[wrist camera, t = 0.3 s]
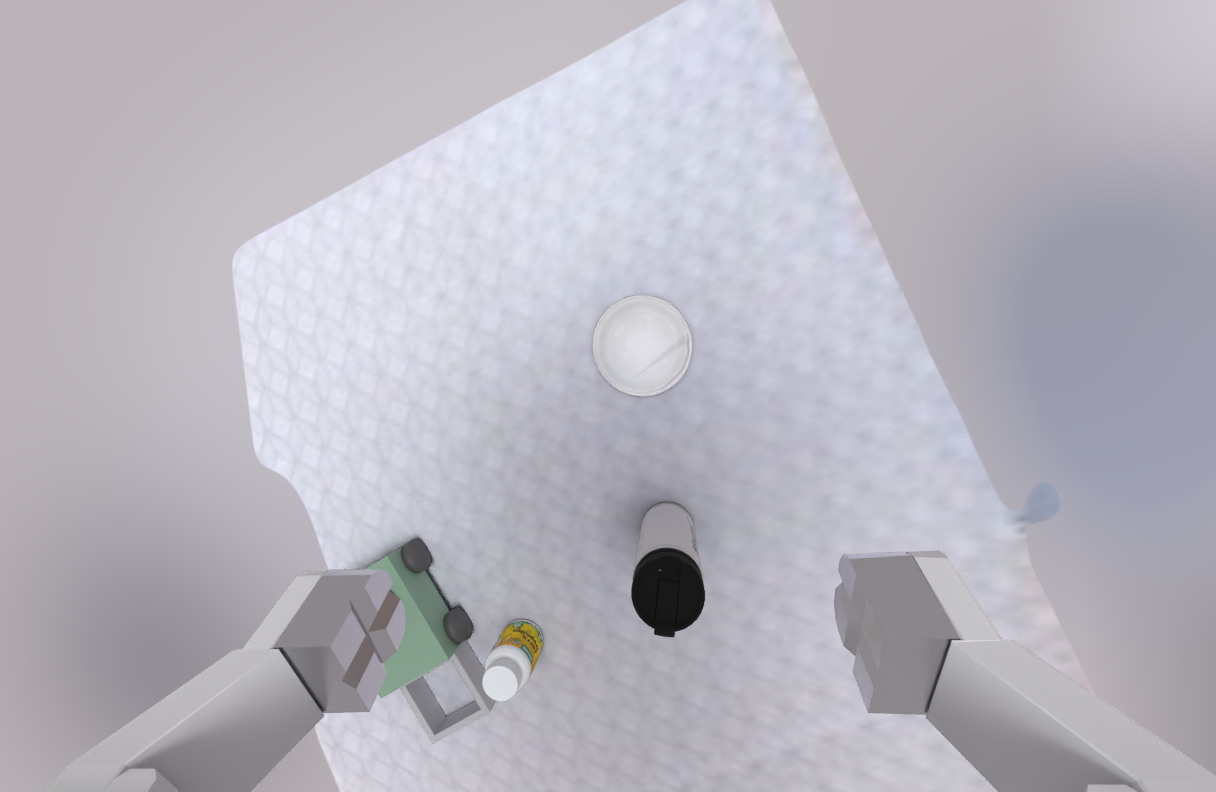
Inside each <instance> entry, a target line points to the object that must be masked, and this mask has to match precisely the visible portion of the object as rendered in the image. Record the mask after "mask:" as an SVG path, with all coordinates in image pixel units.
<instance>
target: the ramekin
mask: <svg viewBox="0 0 1216 792" xmlns="http://www.w3.org/2000/svg"><path fill="white" fill-rule="evenodd" d="M592 350H593V356H594V360H595V363H596V366H597V368H598V370H599V372H600V373H601V375H602V376H603V378H604V379H605V380H606V381H607V382H608V383H609V384H610V385H611V386H612V387H613V388H615V389H617V390H618V391H620V392H622V393H625V394H628V395H631V396H637V397H648V396H654V395H658V394H661V393H663V392H665V391H667V390H669V389H670V388H671V387H673V386H674V385H675V384H676V383H677V382H679V380H680V379H681V378H682V377H683V376H684V374H685V372H686V371H687V369H688V366H689V364H690V361H691V357H692V350H693V342H692V335H691V331H690V328H689V326H688V323H687V322H686V320H685V318H684V317H683V316H682V314H681V313H680V312H679V311H678V310H677V309H676V308H675V307H674V306H673V305H671V304H670V303H668V302H667V301H665V300H663V299H660V298H658V297H654V296H649V295H634V296H629V297H625V298H623V299H621V300H619V301H617V302H616V303H614V304H613V305H611V306H610V307H609V308H608V309H607V310H606V311H605V312H604V313H603V315H602V316H601V317H600V319H599V321H598V323H597V325H596V327H595V330H594V334H593V342H592Z"/></svg>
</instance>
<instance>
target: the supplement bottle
mask: <svg viewBox="0 0 1216 792" xmlns="http://www.w3.org/2000/svg"><path fill="white" fill-rule="evenodd" d="M542 648H543V636H542V633H541V630H540V629H539V627H538V626H537V625H536V624H534V623H533V622H531V621H529V620H515V621H512V622H511V623H509V624H508V625H507V626H506V627H505V629H504V631H503V632H502V634H501V635H500V637H499V639H498V640H497V642H496V644H495V645H494V647H493V648H492V650H491V652H490V653H489V655H488V657H487V659H486V662H485V674H484V676H483V680H482V684H483V689H484V691H485V693H486V694H487V695H488V696H489V697H490V698H492V699H493V700H496V701H507V700H509V699H511V698H512V697H513V696H514V695H515V694H516V692H517V691H518V690H519V689H521V688H522V687H524V686H525V684H526V683H527V682H528V680H529V678H530V675H531V673H532V671H533V669H534V666H535V664H536V662H537V659H538V657H539V655H540V653H541V650H542Z"/></svg>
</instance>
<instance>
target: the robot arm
mask: <svg viewBox="0 0 1216 792" xmlns="http://www.w3.org/2000/svg"><path fill="white" fill-rule="evenodd" d="M838 571H839V574H840V576H841V579H842V581H843V582H842V583H841V584H840V585H839V586H838V587H837V588H835V598H834V607H835V618H836V622H837V626H838V631H839V634H840V637H841V640H842V642H843V645H844V647H845V648H847V649H848V650H849V651H850V652H851V653H852V654H853V655H855V656H856V658H855V663H854V669H853V673H854V676H855V679H856V681H857V684H858V687H859V690H860V692H861V695H862V698H863V700H864V703H865V706H866V709H867V711H868V713H887V714H920V715H927V716H926V718H927V719H928V720H929V721H930V722H931V723H932V724H933V725H934V726H935V728H936V729H937V730H938V731H939V732H940V733H941V734H942V735H943V736H944V737H945V738H946V739H947V740H948V741H949V742H950V743H951V744H952V745H953V746H954V747H955V748H956V749H957V750H958V751H959V752H960V753H961V754H962V755H963V756H964V757H965V758H966V759H967V760H968V761H969V762H970V763H971V764H972V765H973V766H974V767H975V768H976V769H977V770H978V771H979V773H980V774H981V775H982V776H983V777H984V778H985V779H986V780H987V781H988V782H989V783H990V784H991V785H992V786H993V787H994V788H995V789H996V790H997V791H998V792H1216V776H1215V775H1214V774H1212V773H1211V772H1209V771H1207V770H1206V769H1205V768H1203V767H1202V766H1200V765H1199V764H1197V763H1196V762H1194V761H1193V760H1191V759H1190V758H1188V757H1187V756H1185V755H1184V754H1182V753H1181V752H1179V751H1178V750H1176V749H1175V748H1173V747H1172V746H1170V745H1169V744H1168V743H1166V742H1164V741H1163V740H1162V739H1160V738H1158V737H1157V736H1156V735H1154V734H1152V733H1151V732H1150V731H1148V730H1147V729H1145V728H1144V727H1142V726H1141V725H1139V724H1137V723H1136V722H1135V721H1133V720H1132V719H1130V718H1129V717H1127V716H1126V715H1124V714H1123V713H1121V712H1120V711H1118V710H1117V709H1115V708H1114V707H1112V706H1111V705H1109V704H1108V703H1106V702H1105V701H1103V700H1102V699H1100V698H1099V697H1097V696H1096V695H1094V694H1093V693H1091V692H1090V691H1088V690H1087V689H1085V688H1084V687H1083V686H1081V685H1080V684H1078V683H1077V682H1075V681H1074V680H1072V679H1071V678H1069V677H1068V676H1066V675H1065V674H1063V673H1062V672H1060V671H1059V670H1057V669H1056V668H1054V667H1053V666H1051V665H1050V664H1048V663H1047V662H1045V661H1044V660H1042V659H1041V658H1039V657H1038V656H1036V655H1035V654H1033V653H1032V652H1030V651H1029V650H1027V649H1026V648H1024V647H1023V646H1021V645H1020V644H1018V643H1017V642H1015V641H1014V640H1002V639H1001V637H1000V636H999V634H998V633H997V631H996V630H995V628H994V627H993V625H992V624H991V622H990V621H989V619H988V618H987V616H986V615H985V613H984V612H983V610H982V609H981V607H980V606H979V604H978V603H977V601H976V600H975V598H974V597H973V595H972V594H971V592H970V591H969V589H968V588H967V586H966V585H965V583H964V582H963V580H962V579H961V577H960V576H959V574H958V573H957V571H956V570H955V568H954V567H953V565H952V564H951V562H950V561H949V559H948V558H947V556H946V555H945V554H943V553H942V552H940V551H919V552H906V553H905V552H886V553H862V554H843V555H842V557H841V559H840V562H839V568H838ZM392 584H393V581H392V580H391V578H390V576H389V574H388V572H387V570H379V569H359V570H306V571H304V572H302V573H301V574H299V575H298V576H296V578H295V579H294V580H293V582H292V583H291V585H290V586H289V587H288V589H287V590H286V591H285V593H284V594H283V595H282V597H281V598H280V599H279V601H278V602H277V603H276V605H275V606H274V608H273V609H272V610H271V611H270V613H269V614H268V616H267V617H266V618H265V620H264V621H263V622H262V624H261V625H260V626H259V628H258V629H257V630H256V632H255V633H254V635H253V636H252V637H251V639H250V640H249V641H248V643H247V644H246V645H245V647H244V648H243V649H236V650H233V651H232V652H230V653H229V654H227V655H226V656H225V657H223V658H222V659H220V660H219V661H217V662H216V663H214V664H213V665H212V666H210V667H209V668H207V669H206V670H204V671H203V672H202V673H200V674H199V675H197V676H196V677H194V678H193V679H192V680H190V681H189V682H187V683H186V684H184V685H183V686H181V687H180V688H179V689H177V690H176V691H174V692H173V693H171V694H170V695H169V696H167V697H166V698H164V699H163V700H161V701H160V702H158V703H157V704H156V705H154V706H153V707H151V708H150V709H148V710H147V711H145V712H144V713H143V714H141V715H140V716H138V717H137V718H136V719H134V720H133V721H131V722H130V723H128V724H127V725H125V726H124V727H123V728H121V729H120V730H118V731H117V732H115V733H114V734H112V735H111V736H110V737H108V738H107V739H105V740H104V741H103V742H101V743H100V744H98V745H97V746H95V747H94V748H92V749H91V750H89V751H88V752H87V753H85V754H84V755H82V756H81V757H79V758H78V759H76V760H75V761H74V762H72V763H71V764H69V766H68V767H67V768H66V769H65V770H64V771H63V773H62V774H61V775H60V776H59V777H58V779H57V780H56V781H55V782H54V783H53V784H52V785H51V786H50V788H49V789H48V790H47V791H46V792H251V791H252V790H253V789H254V787H256V785H257V784H258V783H259V782H260V781H261V780H262V779H263V778H264V777H265V776H266V775H267V774H268V773H269V772H270V771H271V770H272V769H273V768H274V767H275V766H276V765H277V764H278V763H279V762H280V761H281V760H282V759H283V758H284V757H285V755H287V754H288V752H290V751H291V749H292V748H293V747H294V746H295V745H296V744H297V743H298V742H299V741H300V740H301V739H302V738H303V737H304V736H305V735H306V734H307V733H308V732H309V731H310V730H311V729H312V728H313V727H314V726H315V725H316V724H317V723H318V722H319V721H320V720H321V719H322V718H323V717H324V714H323V713H343V712H370V710H371V708H372V705H373V703H374V701H375V699H376V697H377V694H378V692H379V690H380V688H381V686H382V683H383V681H384V679H385V677H386V670H385V666H384V662H385V661H387V660H388V659H389V658H390V657H391V656H392V655H393V654H394V653H396V652H397V650H398V648H399V646H400V643H401V641H402V639H403V636H404V630H405V624H406V615H405V608H404V605H403V603H402V601H401V599H400V598H399V597H397V596H396V595H394V594H393V593H392V592H390V591H389V590H390V588H391V586H392Z"/></svg>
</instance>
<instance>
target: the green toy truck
mask: <svg viewBox="0 0 1216 792" xmlns="http://www.w3.org/2000/svg"><path fill="white" fill-rule="evenodd" d="M430 565H431V555H430V552H429V550H428V548H427V547H426V545H425V544H424V543H423V542H421V541H420V540H418V539H413V540H411V541H410V542H408V543H406V544H405V545H403V546H401V547H400V548H398V549H396V550H395V551H393V552H391V553H390V554H388V555H387V556H385V557H383V558H382V559H380V560H378V561H377V562H375V563H374V564H372V565H370V566H369V567H367V568H365V569H379V570H387V572H388V574H389V576H390V578H391V580H392V581H393V584H392V586H391V588H390V590H389V591H390V592H392V593H393V594H394V595H396V596H397V597H399V598H400V599H401V601H402V603H403V605H404V608H405V615H406V624H405V630H404V636H403V639H402V641H401V643H400V646H399V648H398V650H397V652H396V653H394V654H393V655H392V656H391V657H390V658H389V659H388V660H387V661H385V662H384V666H385V670H386V677H385V679H384V681H383V683H382V686H381V688H380V690H379V692H378V695H379V696H380V698H383V697H384V696H386V695H388V694H390V693H391V692H393V691H395V690H397V689H398V688H400V690H401V692H402V693H403V695H404V697H405V698H406V700H407V702H408V704H409V705H410V707H411V709H412V710H413V712H414V714H415V715H416V717H417V719H418V720H419V722H420V724H421V725H422V727H423V729H424V730H425V732H426V734H427V735H428V737H429V739H430V740H431V742H432V744H433V743H435V742H437V741H439V740H441V739H442V738H444V737H446V736H448V735H450V734H451V733H453V732H455V731H457V730H459V729H460V728H462V727H464V726H466V725H468V724H470V723H471V722H473V721H475V720H477V719H479V718H480V717H482V716H484V715H486V714H488V713H489V712H490V711H491V709H492V707H493V705H494V703H495V701H496V700H493V699H492V698H490V697H489V696H488V695H487V694H486V693H485V691H484V689H483V684H482V680H483V676H484V674H485V670H484V668H483V667H482V665H481V663H480V662H479V660H478V658H477V657H476V655H475V653H474V652H473V650H472V648H471V647H470V645H469V643H468V642H467V639H469V638H470V637H471V635H472V624H471V621H470V618H469V616H468V615H467V613H466V612H465V611H464V610H463V609H461V608H455V609H453V610H451V611H449V609H448V607H447V606H446V604H445V602H444V601H443V599H442V597H441V596H440V594H439V592H438V591H437V589H436V587H435V586H434V584H433V582H432V581H431V579H430V577H429V576H428V574H427V573H426V571H425V570H426V569H427V568H429V567H430ZM449 660H452V662H453V664H454V665H455V667H456V669H457V670H458V672H459V674H460V675H461V677H462V679H463V680H464V682H465V684H466V685H467V687H468V689H469V690H470V692H471V694H472V695H473V697H474V699H475V701H474V702H472V703H470V704H468V705H466V706H465V707H463V708H461V709H459V710H457V711H456V712H454V713H452V714H450V715H449V716H447V717H446V715H445V713H444V712H443V710H442V708H441V707H440V705H439V703H438V701H437V700H436V698H435V696H434V695H433V693H432V691H431V690H430V688H429V686H428V685H427V683H426V681H425V680H424V678H423V675H425V674H427V673H429V672H430V671H432V670H434V669H435V668H437V667H439V666H441V665H442V664H444V663H446V662H448V661H449Z"/></svg>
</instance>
